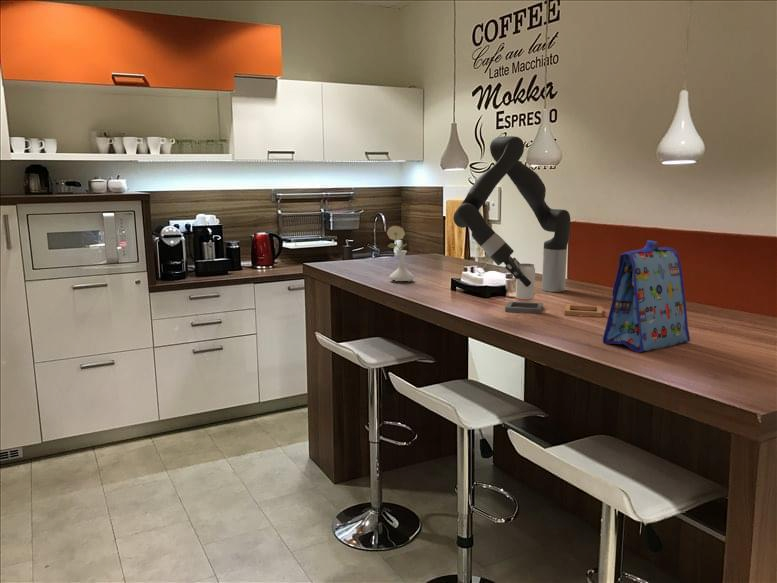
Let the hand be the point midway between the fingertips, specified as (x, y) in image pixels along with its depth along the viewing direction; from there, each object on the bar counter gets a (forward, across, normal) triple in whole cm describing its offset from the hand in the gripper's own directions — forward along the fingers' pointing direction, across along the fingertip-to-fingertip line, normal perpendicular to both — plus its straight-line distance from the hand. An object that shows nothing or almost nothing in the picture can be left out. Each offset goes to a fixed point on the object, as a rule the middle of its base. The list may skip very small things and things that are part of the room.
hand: (530, 283), depth 227 cm
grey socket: (+5, 0, +8) cm, 10 cm away
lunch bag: (+32, -39, -19) cm, 53 cm away
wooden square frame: (+20, 0, -6) cm, 21 cm away
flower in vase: (-36, +47, +50) cm, 77 cm away
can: (+3, 0, +5) cm, 6 cm away
